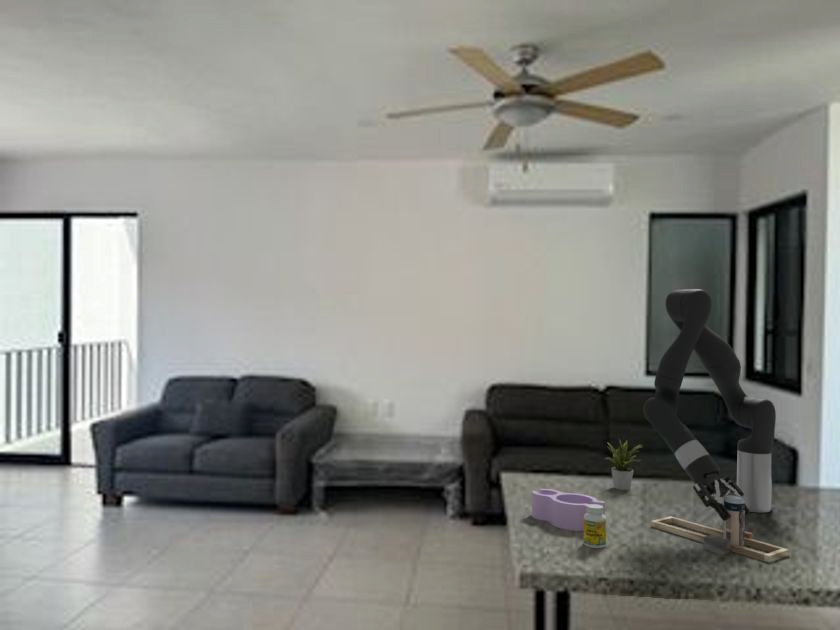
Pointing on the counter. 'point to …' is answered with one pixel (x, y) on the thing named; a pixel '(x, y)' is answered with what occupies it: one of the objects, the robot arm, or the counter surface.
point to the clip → (562, 508)
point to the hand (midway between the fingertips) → (737, 516)
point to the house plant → (622, 466)
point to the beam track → (721, 540)
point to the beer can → (734, 520)
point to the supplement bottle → (594, 527)
